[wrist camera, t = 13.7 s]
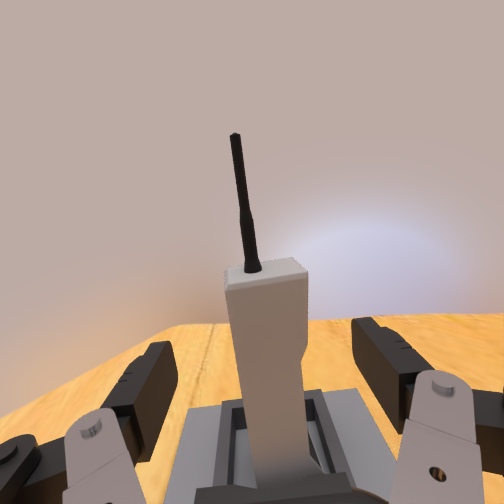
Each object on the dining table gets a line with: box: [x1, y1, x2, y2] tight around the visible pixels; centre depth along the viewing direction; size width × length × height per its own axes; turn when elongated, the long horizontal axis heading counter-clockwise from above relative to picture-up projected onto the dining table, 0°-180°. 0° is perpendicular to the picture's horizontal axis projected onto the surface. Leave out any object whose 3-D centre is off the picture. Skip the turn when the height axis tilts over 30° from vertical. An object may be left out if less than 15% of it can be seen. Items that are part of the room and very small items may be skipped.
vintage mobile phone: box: [224, 133, 325, 491], centre depth 18 cm, size 4×5×25 cm
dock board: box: [163, 388, 397, 504], centre depth 21 cm, size 18×14×4 cm
